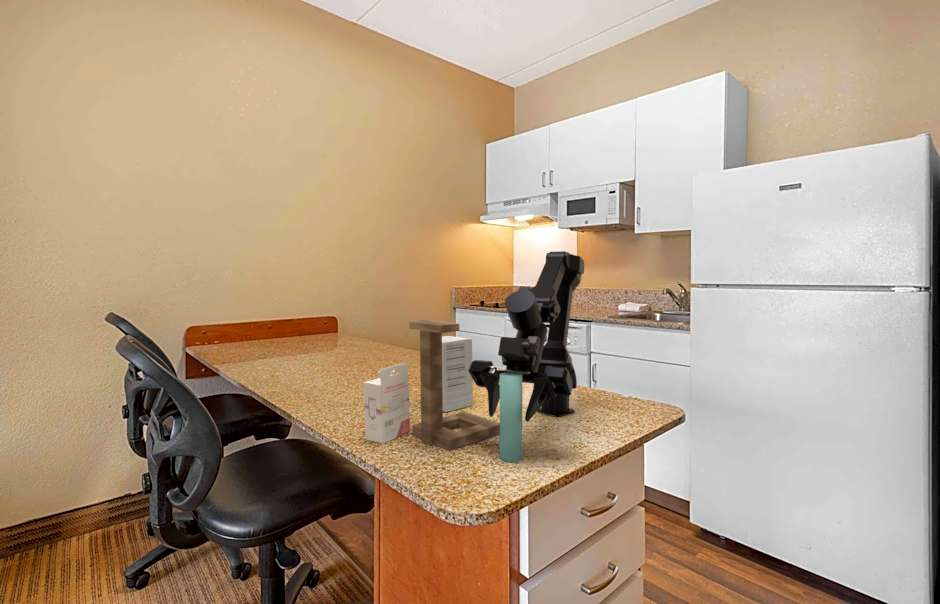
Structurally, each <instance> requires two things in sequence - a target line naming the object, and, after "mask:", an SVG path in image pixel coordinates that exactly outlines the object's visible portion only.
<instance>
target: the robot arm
mask: <svg viewBox="0 0 940 604" xmlns="http://www.w3.org/2000/svg"><path fill="white" fill-rule="evenodd" d="M584 273H585V261H584V259H583V258H582V257H581V256H579V255H576V254H575V255H574V254H572V253H570V252H567V251H565V250H563V251H549V252H547V253H546V255H545V263H544V265H543V268H542V270H541V272H540V275H539V277H538V280H537V282H536V283H535V286H533V287H530V286H519V288H518V290H515V291H513V292H512V293H510V294H508V296H506V298H505V300H504V307H505V309H506V313H507V314H508V317H509V320H510V323H511V324H512V328H513V329H515V330H517V331H516V335H515V337H508V336H502V337H500V342H499V347H498V356H500V357H501V358H502V361H501V362H502V365H503V366H506V368H498V367H495V365H494V363H493V361H492V360H480V359H475V360H472V363H471V364H470V367H469V370H468V371H469V373H470V375H471V376H472V378H473V383H474V384H475V385H476V386H477V387H479V388H485V389H486V391H487V398H488V399H487V401H488V403H487V404H488V415H489V417H492V418H493V417H494V414H495V413H496V411H497V408H498V404H499V403H500V374H501V373H507V372H514V373H520V374H522V383H525V384H533V389H532V392H531V395H530V399H529V401H528V404H527V407H526V410H525V415H524V420H525V422H529V421H530V420H531V419H532V418H533V417H534V415H536V414H537V412H538V413H542V414H546V415H548V416H549V415H550V416H552V417H557V418H559V417H563V416H566V415H568V414H572V413H575V409H573V408H570V396H571V395H572V390H573V389H574V390H575V389H577V388H578V387H577V386H578V385H577V384H578V383H577V382H578V381H577V375H576V370H575V369H574V364H573V363H572V362H573V361H572V357H571V355H570V352H569V350H568V348H567V347H568V346H567V345H568V344H567V343H568V335H569V328H570V327H569V326H570V318H571V310H572V303H573V302H572V300H573V294H574V291H575V290H576V289H577V288H578V286H579V285H581V281H582V275H583V274H584ZM546 324H549V326H548V327H547V325H546Z"/></svg>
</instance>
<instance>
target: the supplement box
mask: <svg viewBox="0 0 940 604" xmlns="http://www.w3.org/2000/svg"><path fill="white" fill-rule="evenodd" d="M472 361H473V338H469V337H459V336H453V335H442V403H443V412H444V413H448V412H451V411H455V410H458V409H459V410H460V409H463V408H467V407H468V408H469V407H471V406H474V393H473V392H474V388H473V387H474V386H473V385H474V380H473V378H472V376H471V375H470V373H469V371H468V370H469V367H470V364H471V363H472Z"/></svg>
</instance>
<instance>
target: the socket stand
mask: <svg viewBox="0 0 940 604" xmlns="http://www.w3.org/2000/svg"><path fill="white" fill-rule="evenodd" d="M408 322H409V330H416V331H419V354H420V355H419V359H420V362H419V363H420V365H419V367H420V375H419V376H420V423H415V424H412V426H411V427H412V428H411V430H412V432H411V433H412V435H413V436H414V437H416V438H418V439H420V440H421V443H423V444H426V445H427V446H436V447H439V448H441V449H444V450H447V451H448V452H450V451H453V450H454V451H455V450H457V449H459V448H463V447H465V446H468V445H472V444H475V443H478V442H482V441H483V440H484V441H485V440H487V439H491V438H494V437H496V436H500V422H497V421H494V420H491V419H488V418H485V417H481V416H478V415H475V414H472V413H470V412H466V411H461V412H457V413H454V414H449V415H446V416H443V415H444V414H443V403H442V336H443V334H447V333H454V332H460V323H459V322H458V323H457V322H456V323H455V322H449V321H439V320H438V321H437V320H430V319H426V320H424V319H423V320H422V319H421V320H413V321H408ZM458 428H459V429H460V430H459V429H458ZM455 429H458V430H455Z"/></svg>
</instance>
